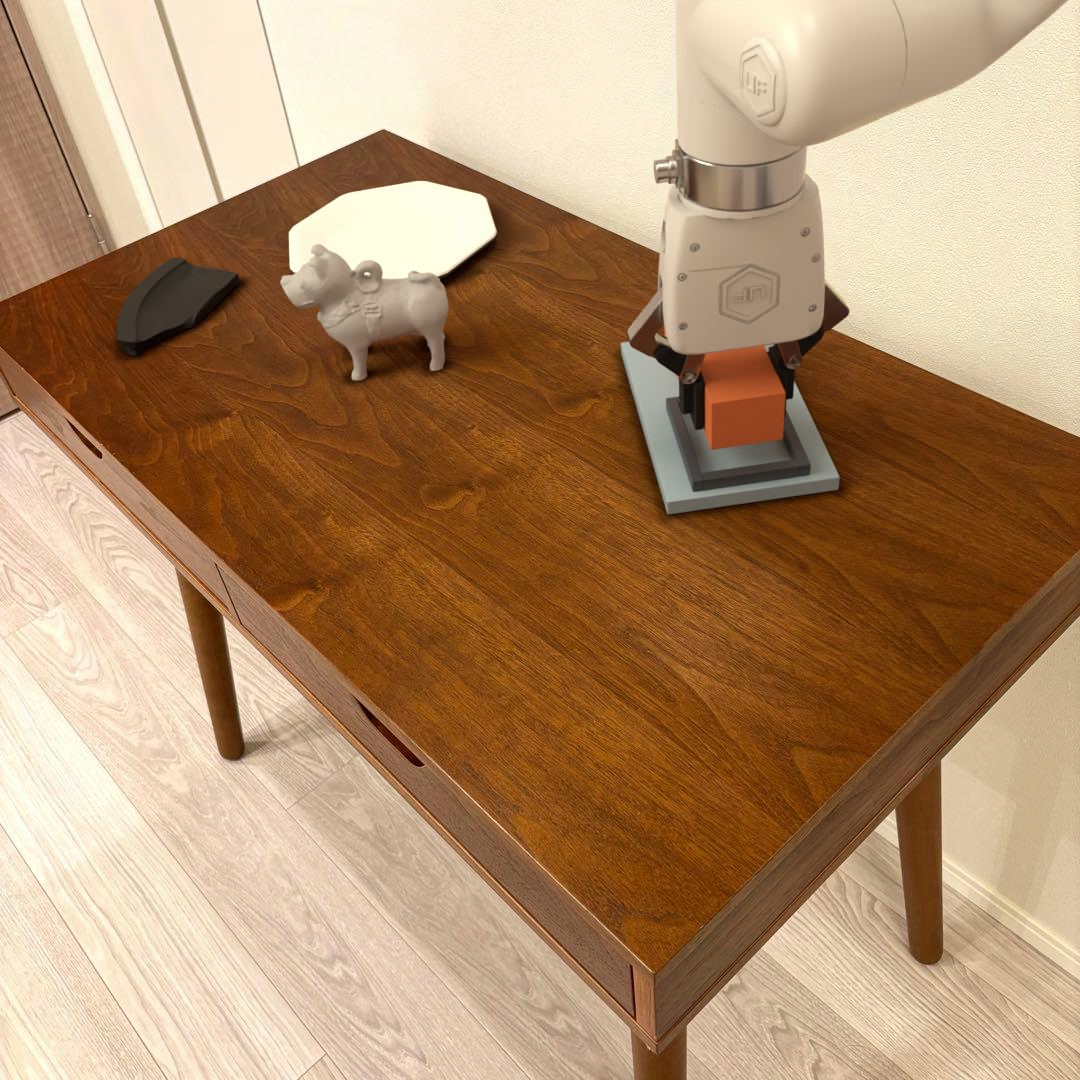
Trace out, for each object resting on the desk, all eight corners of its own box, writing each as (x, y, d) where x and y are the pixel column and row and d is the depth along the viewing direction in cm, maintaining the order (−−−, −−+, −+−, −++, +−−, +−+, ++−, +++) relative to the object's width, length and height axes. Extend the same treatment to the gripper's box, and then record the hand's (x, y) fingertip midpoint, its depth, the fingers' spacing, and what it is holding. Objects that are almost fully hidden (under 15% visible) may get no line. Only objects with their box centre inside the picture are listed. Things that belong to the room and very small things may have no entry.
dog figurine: (308, 354, 98) (276, 242, 91) (455, 333, 98) (435, 219, 91) (305, 390, 94) (271, 275, 87) (458, 367, 94) (437, 251, 87)
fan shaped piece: (83, 347, 103) (76, 331, 102) (176, 271, 111) (170, 256, 110) (156, 361, 100) (150, 345, 99) (245, 282, 108) (240, 266, 107)
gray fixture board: (765, 334, 94) (768, 278, 90) (838, 490, 79) (845, 430, 76) (621, 354, 94) (618, 299, 90) (667, 515, 79) (665, 456, 75)
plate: (291, 216, 118) (287, 202, 116) (479, 183, 119) (477, 170, 118) (294, 315, 103) (290, 300, 102) (508, 277, 104) (506, 262, 103)
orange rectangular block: (757, 381, 83) (759, 335, 81) (783, 439, 78) (786, 392, 75) (690, 391, 83) (689, 345, 80) (710, 450, 78) (711, 403, 75)
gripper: (609, 217, 65) (624, 463, 78) (903, 175, 65) (871, 427, 78) (591, 160, 71) (607, 398, 83) (862, 122, 71) (838, 365, 83)
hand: (735, 410), depth 80 cm, fingers closed on orange rectangular block, 5 cm apart
